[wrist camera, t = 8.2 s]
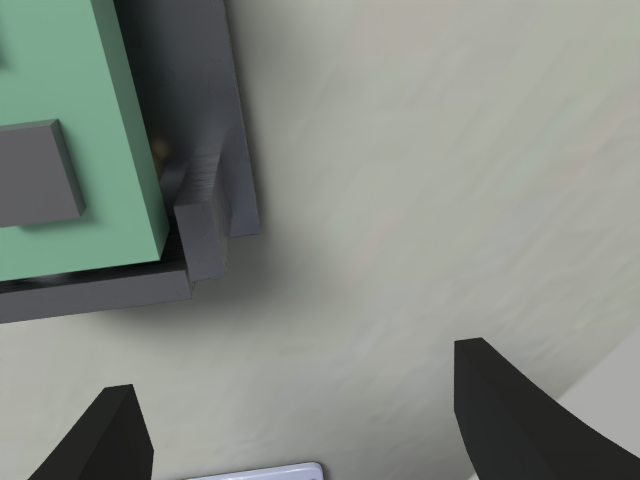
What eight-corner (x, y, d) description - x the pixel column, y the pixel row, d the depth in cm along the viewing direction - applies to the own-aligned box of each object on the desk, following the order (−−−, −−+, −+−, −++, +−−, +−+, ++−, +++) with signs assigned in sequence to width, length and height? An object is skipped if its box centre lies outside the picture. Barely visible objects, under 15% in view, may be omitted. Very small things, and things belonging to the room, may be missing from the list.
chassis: (194, -180, 16) (168, -224, 12) (260, 221, 22) (259, 293, 18) (-172, -140, 16) (-339, -170, 12) (-9, 255, 22) (-79, 337, 17)
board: (85, -112, 14) (48, -122, 12) (169, 228, 18) (156, 271, 16) (-130, -87, 14) (-210, -92, 11) (6, 249, 18) (-33, 295, 16)
